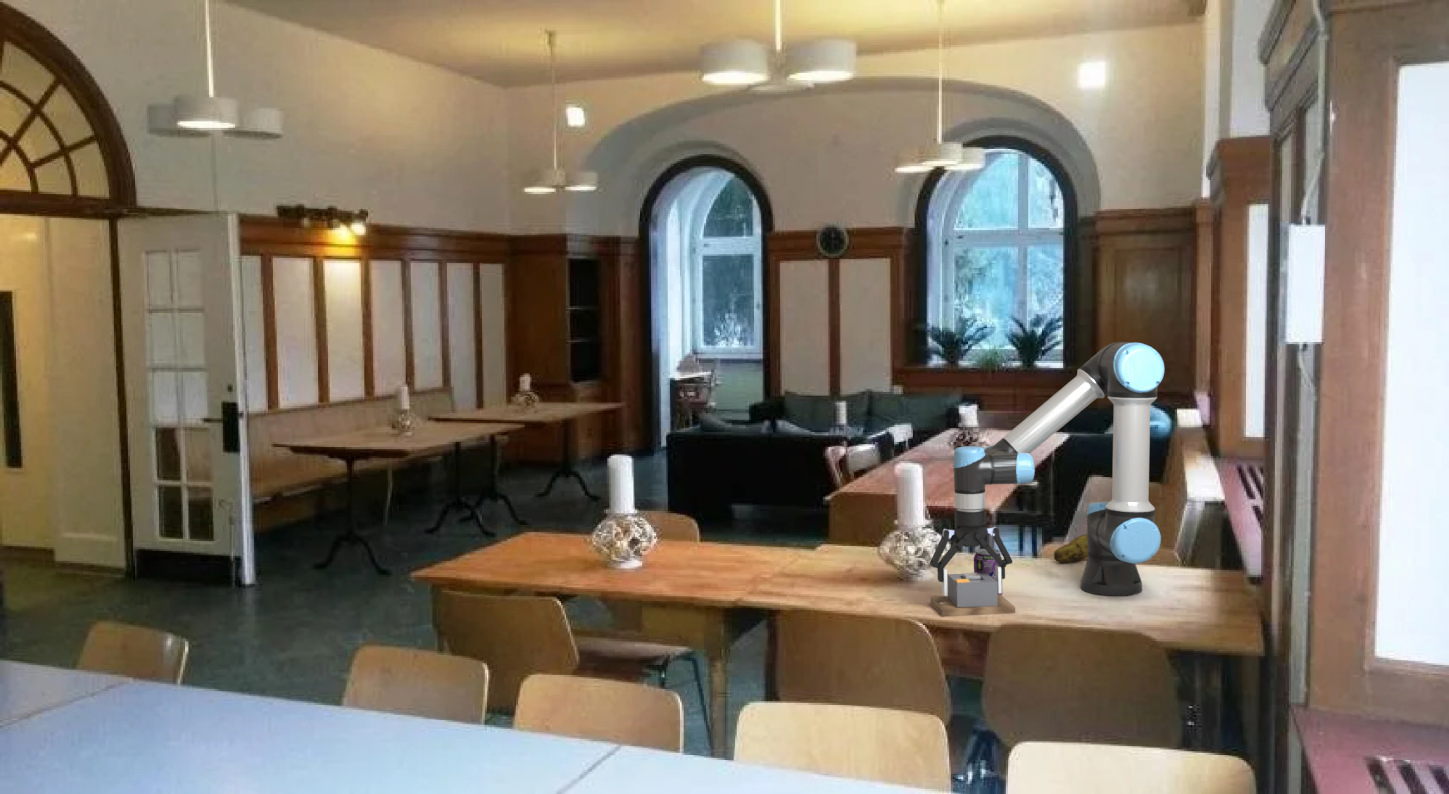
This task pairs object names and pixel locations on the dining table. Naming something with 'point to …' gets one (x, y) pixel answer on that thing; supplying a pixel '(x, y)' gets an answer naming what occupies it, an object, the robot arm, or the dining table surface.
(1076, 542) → the potato
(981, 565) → the beverage can
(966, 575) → the shaft
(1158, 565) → the dining table surface
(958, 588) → the grey open top crate
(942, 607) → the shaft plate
